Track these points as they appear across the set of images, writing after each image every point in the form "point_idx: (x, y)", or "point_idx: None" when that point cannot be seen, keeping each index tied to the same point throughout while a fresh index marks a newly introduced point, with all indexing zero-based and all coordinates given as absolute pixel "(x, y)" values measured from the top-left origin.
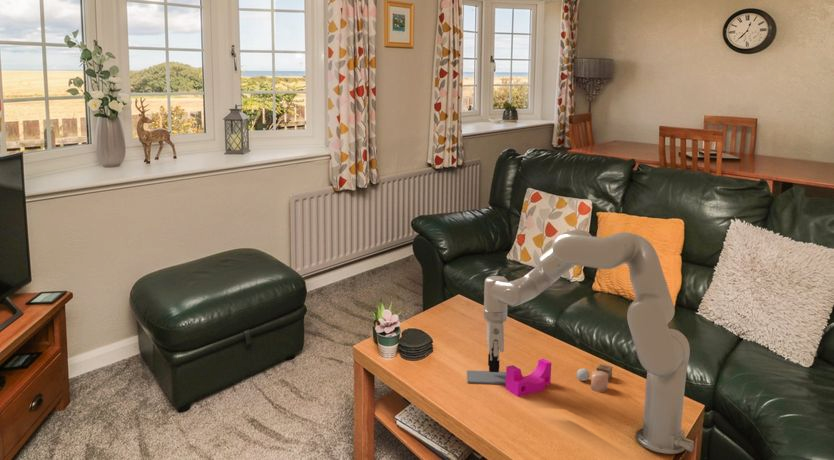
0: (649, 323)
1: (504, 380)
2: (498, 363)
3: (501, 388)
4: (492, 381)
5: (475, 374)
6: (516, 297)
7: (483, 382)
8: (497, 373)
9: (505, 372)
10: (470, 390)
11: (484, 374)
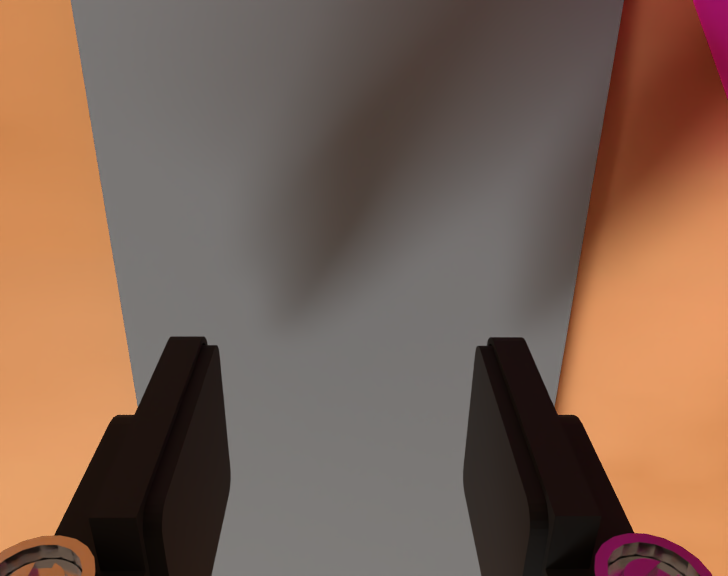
0: None
1: (496, 164)
2: (572, 470)
3: (723, 222)
4: (532, 348)
5: (292, 534)
6: None
7: None
8: (203, 256)
9: (126, 112)
10: (719, 567)
11: (275, 435)
